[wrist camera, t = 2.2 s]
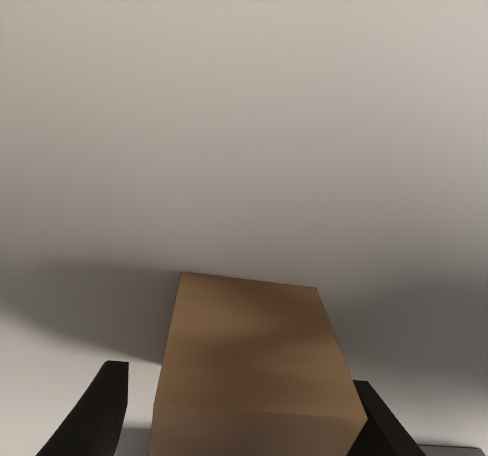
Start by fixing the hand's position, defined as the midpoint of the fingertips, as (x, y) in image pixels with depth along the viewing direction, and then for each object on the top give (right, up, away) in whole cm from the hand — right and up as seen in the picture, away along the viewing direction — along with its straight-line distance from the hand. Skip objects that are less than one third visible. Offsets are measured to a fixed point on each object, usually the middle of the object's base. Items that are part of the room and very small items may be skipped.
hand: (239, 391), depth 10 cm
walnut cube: (0, +1, +2) cm, 3 cm away
